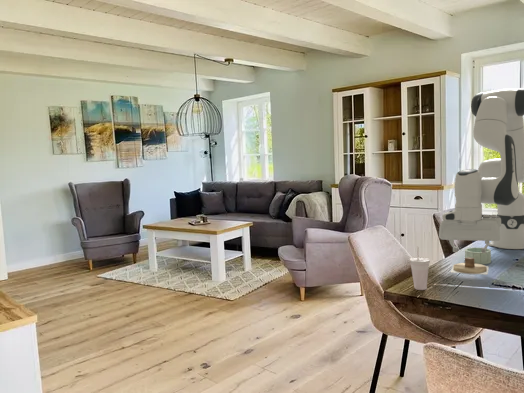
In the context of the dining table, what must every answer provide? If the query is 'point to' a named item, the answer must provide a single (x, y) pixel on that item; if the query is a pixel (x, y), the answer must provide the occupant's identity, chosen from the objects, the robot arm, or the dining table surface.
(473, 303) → the dining table surface
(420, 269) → the smoothie
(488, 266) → the mat
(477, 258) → the bowl
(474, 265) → the lid
